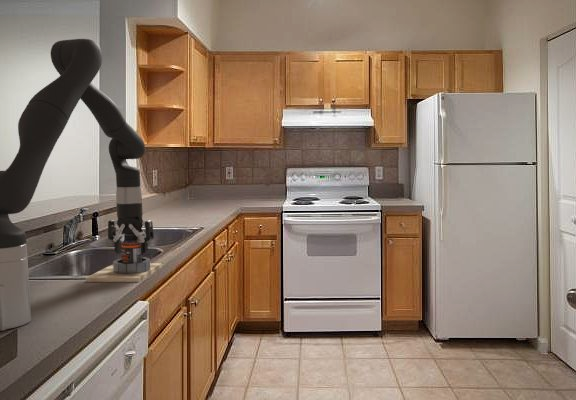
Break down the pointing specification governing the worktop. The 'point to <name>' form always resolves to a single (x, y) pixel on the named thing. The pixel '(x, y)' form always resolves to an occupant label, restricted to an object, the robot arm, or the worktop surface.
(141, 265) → the collar
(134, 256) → the supplement bottle
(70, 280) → the worktop surface
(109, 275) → the base board
